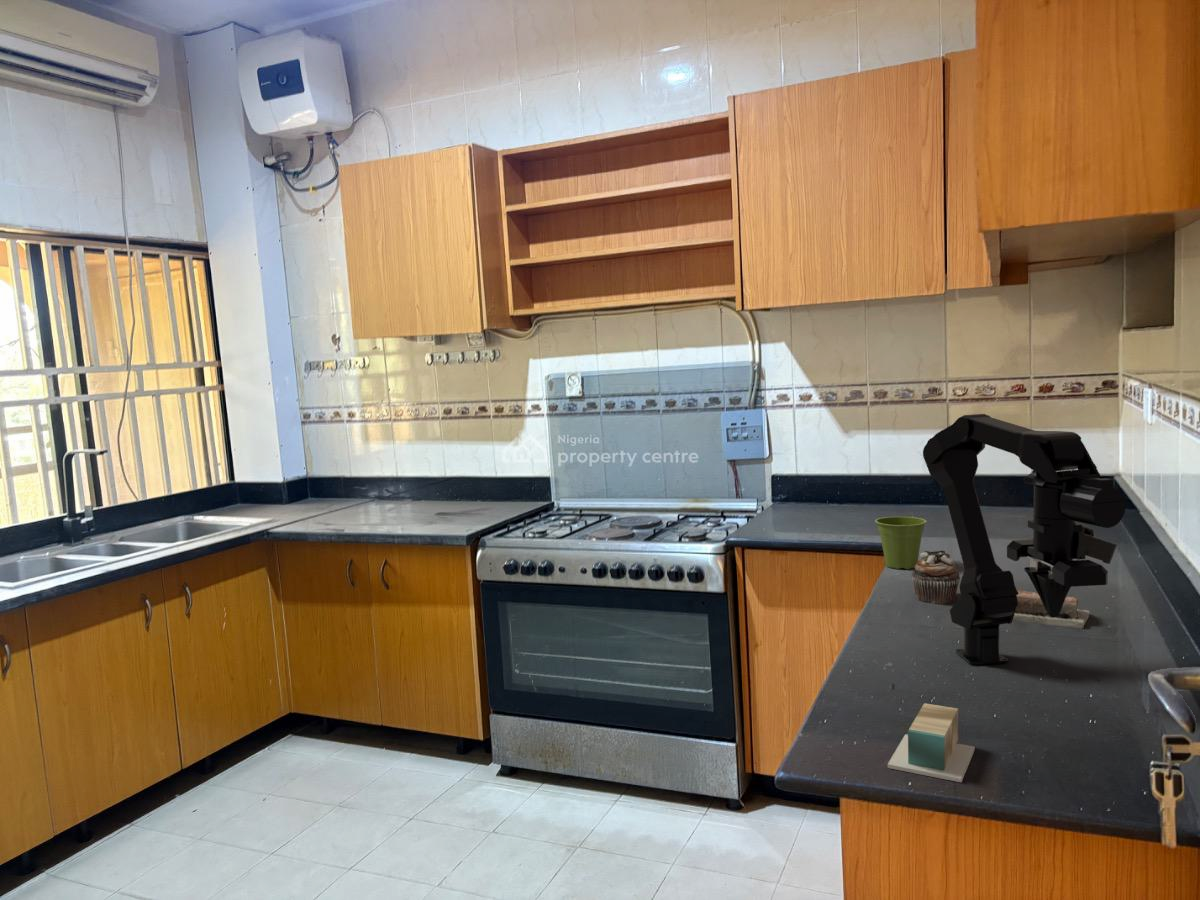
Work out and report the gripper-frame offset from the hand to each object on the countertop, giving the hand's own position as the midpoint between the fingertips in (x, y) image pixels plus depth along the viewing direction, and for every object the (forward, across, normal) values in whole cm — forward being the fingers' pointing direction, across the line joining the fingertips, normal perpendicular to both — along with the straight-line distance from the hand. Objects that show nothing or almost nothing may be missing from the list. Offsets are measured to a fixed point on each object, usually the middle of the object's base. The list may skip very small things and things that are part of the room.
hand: (1053, 616), depth 136 cm
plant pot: (+12, +80, -4) cm, 81 cm away
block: (+9, -14, +23) cm, 28 cm away
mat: (+12, -20, +26) cm, 35 cm away
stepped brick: (+13, +38, -16) cm, 43 cm away
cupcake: (+12, +52, -2) cm, 53 cm away
